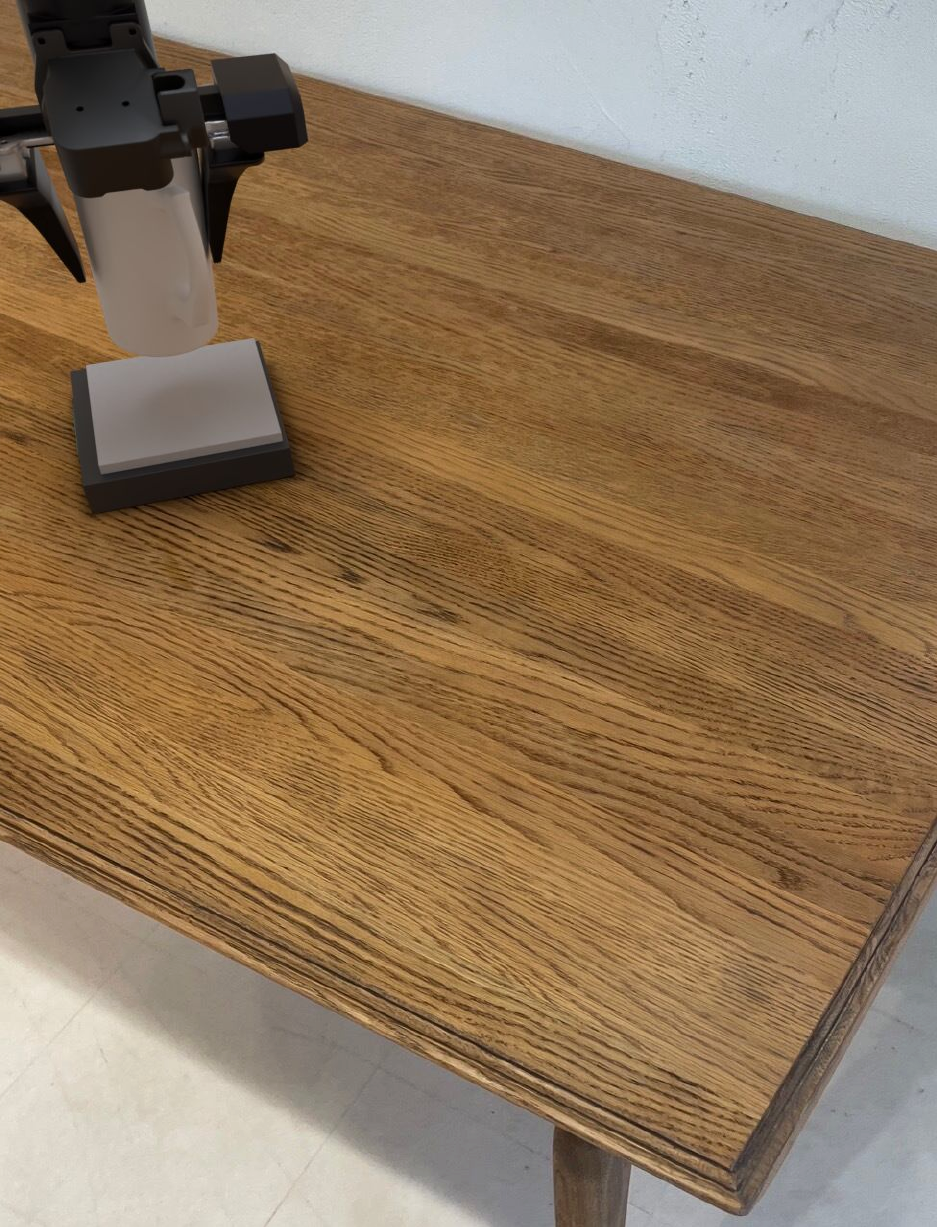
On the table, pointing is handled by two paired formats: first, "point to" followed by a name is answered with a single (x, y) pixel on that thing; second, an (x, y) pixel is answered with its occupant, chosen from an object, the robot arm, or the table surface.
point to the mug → (153, 264)
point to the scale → (177, 425)
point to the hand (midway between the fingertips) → (149, 269)
